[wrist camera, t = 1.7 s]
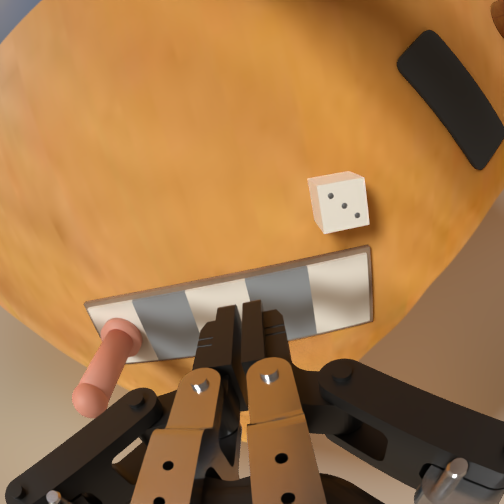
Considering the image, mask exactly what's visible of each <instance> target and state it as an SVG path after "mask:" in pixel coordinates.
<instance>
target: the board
mask: <svg viewBox="0 0 504 504" xmlns="http://www.w3.org/2000/svg"><path fill="white" fill-rule="evenodd" d="M260 299H261V301H262V305H263V309H264V311H269V310H274V309H277V310H278V311H279V312H280V313H281V314H282V315H283V319H284V324H285V329H286V334H287V339H288V341H292V340H296V339H301V338H306V337H311V336H315V335H320V334H324V333H328V332H333V331H337V330H341V329H345V328H349V327H353V326H357V325H361V324H365V323H368V322H372V321H373V299H372V274H371V256H370V246H369V245H364V246H359V247H355V248H350V249H346V250H341V251H336V252H332V253H327V254H322V255H318V256H313V257H308V258H304V259H299V260H294V261H290V262H285V263H280V264H275V265H270V266H266V267H261V268H256V269H251V270H246V271H241V272H236V273H231V274H226V275H222V276H217V277H212V278H207V279H202V280H196V281H191V282H186V283H181V284H176V285H171V286H166V287H161V288H155V289H150V290H145V291H140V292H134V293H129V294H124V295H118V296H113V297H108V298H102V299H97V300H91V301H86V302H85V303H84V306H85V308H86V310H87V312H88V314H89V316H90V318H91V320H92V322H93V324H94V326H95V328H96V330H97V332H98V334H99V336H100V338H101V330H102V328H103V326H104V325H105V323H106V322H107V321H108V320H110V319H112V318H122V319H125V320H128V321H130V322H131V323H133V324H134V325H135V326H136V327H137V328H138V329H139V331H140V333H141V335H142V339H143V341H142V345H141V348H140V350H139V352H138V353H137V354H136V355H135V356H132V357H128V359H127V361H126V363H125V364H133V363H144V362H154V361H164V360H173V359H181V358H189V357H195V354H196V349H197V344H198V341H199V335H200V330H201V329H202V328H203V327H204V325H205V324H206V323H207V322H209V321H215V320H216V314H217V308H218V307H224V306H229V305H235V304H236V305H237V308H238V311H239V314H240V318H241V321H242V304H243V303H245V302H250V301H255V300H260ZM101 340H102V339H101Z"/></svg>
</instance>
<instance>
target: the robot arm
mask: <svg viewBox="0 0 504 504" xmlns="http://www.w3.org/2000/svg"><path fill="white" fill-rule="evenodd" d="M248 402H249V414H250V424H247V441H248V453H249V466H250V476H249V477H245V478H242V479H240V478H239V470H238V469H239V458H240V446H241V445H240V444H241V434H242V427H241V424H240V412H241V411H248ZM309 433H316V434H325V435H326V437H327V438H328V439H329V440H331V441H332V442H334V443H335V444H337V445H339V446H340V447H342V448H344V449H345V450H347V451H348V452H350V453H351V454H353V455H355V456H356V457H358V458H360V459H361V460H363V461H365V462H367V463H368V464H370V465H372V466H373V467H375V468H377V469H379V470H380V471H382V472H384V473H386V474H388V475H389V476H391V477H393V478H395V479H397V480H399V481H401V482H402V483H404V484H406V485H408V486H410V487H412V488H414V489H416V492H415V495H414V504H499V502H500V500H501V498H502V496H503V494H504V422H503V421H500V420H498V419H495V418H492V417H489V416H487V415H484V414H481V413H479V412H476V411H474V410H471V409H468V408H466V407H463V406H460V405H458V404H455V403H453V402H450V401H448V400H446V399H443V398H440V397H438V396H436V395H433V394H431V393H428V392H426V391H423V390H421V389H419V388H416V387H414V386H412V385H409V384H407V383H405V382H402V381H400V380H398V379H395V378H393V377H391V376H389V375H386V374H384V373H382V372H380V371H377V370H375V369H373V368H371V367H369V366H366V365H364V364H362V363H360V362H358V361H355V360H352V359H337V360H334V361H331V362H329V363H327V364H326V365H325V366H323V367H322V369H321V370H320V371H306V370H302V369H300V368H298V367H296V366H295V365H294V364H293V363H292V360H291V355H290V349H289V344H288V339H287V334H286V329H285V324H284V319H283V315H282V314H281V313H280V312H279V311H278V310H277V309H274V310H269V311H264V309H263V305H262V301H261V299H260V300H255V301H250V302H245V303H243V304H242V321H241V318H240V314H239V311H238V308H237V305H236V304H235V305H229V306H224V307H218V308H217V314H216V320H215V321H209V322H207V323H206V324H205V325H204V327H203V328H202V329H201V330H200V335H199V341H198V344H197V349H196V354H195V359H194V364H193V369H192V371H191V372H189V373H187V374H186V375H185V376H184V377H183V378H182V379H181V381H180V383H179V386H178V389H177V390H175V391H173V392H170V393H167V394H164V395H161V396H158V397H157V395H156V394H155V392H154V391H153V390H151V389H148V388H138V389H134V390H132V391H130V392H128V393H127V394H126V395H124V396H123V397H122V398H121V399H119V400H118V401H117V402H116V403H114V404H113V405H112V406H111V407H109V408H108V409H107V410H105V411H104V412H103V413H101V414H100V415H99V416H98V417H96V418H95V419H94V420H93V421H91V422H90V423H89V424H88V425H86V426H85V427H83V428H82V429H81V430H80V431H78V432H77V433H76V434H74V435H73V436H72V437H70V438H69V439H68V440H67V441H66V442H64V443H63V444H61V445H60V446H59V447H57V448H56V449H55V450H53V451H52V452H51V453H49V454H48V455H47V456H45V457H44V458H43V459H41V460H40V461H39V462H37V463H36V464H35V465H33V466H32V467H30V468H29V469H28V470H26V471H25V472H24V473H22V474H21V475H19V476H18V477H17V478H15V479H14V480H13V481H12V482H10V484H9V485H8V487H7V489H6V493H5V499H6V503H7V504H385V503H383V502H381V501H380V500H378V499H376V498H374V497H373V496H371V495H370V494H368V493H367V492H365V491H363V490H362V489H360V488H359V487H357V486H356V485H354V484H352V483H351V482H348V481H346V480H344V479H342V478H339V477H336V476H332V475H328V474H322V473H319V470H318V466H317V463H316V459H315V454H314V450H313V446H312V442H311V438H310V435H309ZM138 437H139V438H140V439H141V440H142V443H141V444H140V445H139V446H137V447H136V448H135V449H134V450H133V451H132V452H130V453H129V454H128V455H127V456H126V457H124V458H123V459H122V460H121V461H120V462H118V463H115V464H112V460H113V458H114V457H115V456H116V455H118V454H119V453H120V452H121V451H123V450H124V449H125V448H126V447H127V446H129V445H130V444H131V443H132V442H133V441H134V440H136V439H137V438H138Z"/></svg>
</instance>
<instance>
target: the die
mask: <svg viewBox="0 0 504 504" xmlns="http://www.w3.org/2000/svg"><path fill="white" fill-rule="evenodd" d="M307 180H308V185H309V191H310V197H311V203H312V208H313V215H314V221H315V222H316V223H317V225H318V226H319V228H320V229H321V230H322V232H323V233H324V234H327V233H332V232H336V231H341V230H346V229H351V228H356V227H360V226H365V225H370V224H369V214H368V204H367V196H366V187H365V180H364V177H362V176H360V175H357V174H355V173H353V172H350V171H347V172H341V173H335V174H329V175H324V176H318V177H313V178H308V179H307Z"/></svg>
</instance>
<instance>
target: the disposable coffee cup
mask: <svg viewBox="0 0 504 504" xmlns="http://www.w3.org/2000/svg"><path fill="white" fill-rule="evenodd" d="M491 14H492V18H493V21H494V23H495V25H496V27H497V29H498V31H499V32H500V34H501V35H502V36H503V38H504V0H497V1H495V2H494V3H493V4H492V5H491Z"/></svg>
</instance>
